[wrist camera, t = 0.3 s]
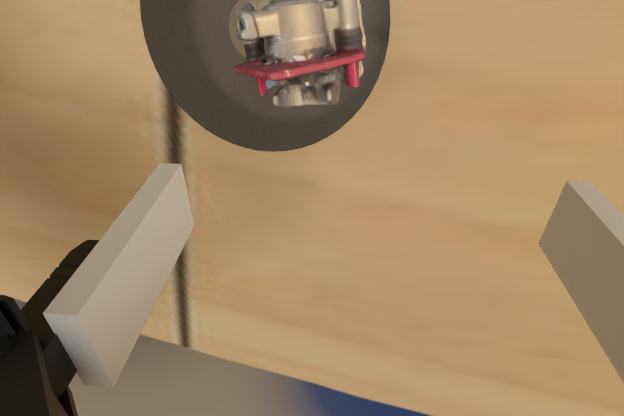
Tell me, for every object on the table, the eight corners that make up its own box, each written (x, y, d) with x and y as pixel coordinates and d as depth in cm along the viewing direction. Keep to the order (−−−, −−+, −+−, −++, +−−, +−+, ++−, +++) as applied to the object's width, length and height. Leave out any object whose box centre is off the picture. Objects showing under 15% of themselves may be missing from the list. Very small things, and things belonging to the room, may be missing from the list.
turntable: (157, -184, 31) (155, -185, 31) (440, -73, 31) (440, -73, 31) (130, 101, 43) (129, 102, 43) (334, 183, 43) (334, 184, 43)
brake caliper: (258, 136, 39) (196, 78, 28) (261, 35, 41) (205, -58, 30) (373, 128, 37) (358, 60, 25) (371, 21, 39) (356, -88, 27)
